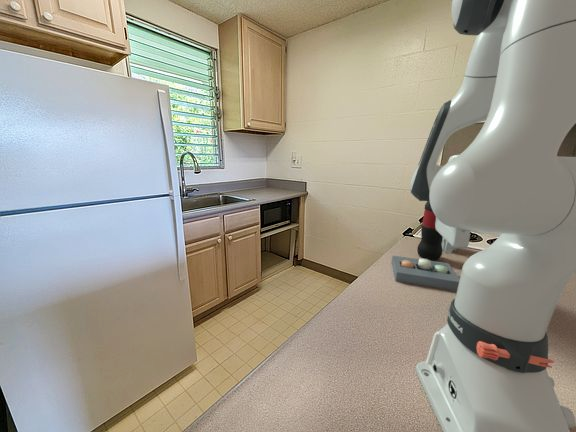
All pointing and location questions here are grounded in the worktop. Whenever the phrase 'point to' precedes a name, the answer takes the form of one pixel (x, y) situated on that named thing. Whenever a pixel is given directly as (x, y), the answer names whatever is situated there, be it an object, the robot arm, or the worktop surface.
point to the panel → (425, 274)
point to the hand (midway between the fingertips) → (446, 252)
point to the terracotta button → (407, 264)
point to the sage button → (440, 269)
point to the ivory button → (424, 263)
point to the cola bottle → (430, 236)
